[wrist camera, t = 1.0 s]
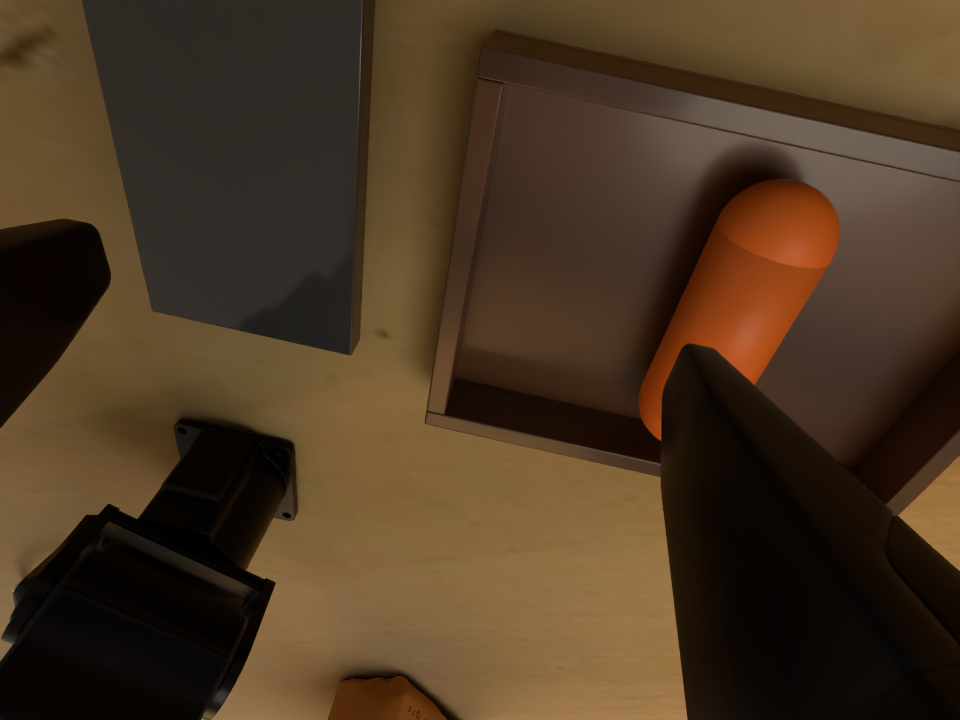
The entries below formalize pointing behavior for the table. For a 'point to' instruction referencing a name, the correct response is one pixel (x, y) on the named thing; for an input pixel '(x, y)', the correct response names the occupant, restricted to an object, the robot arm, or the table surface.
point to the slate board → (244, 157)
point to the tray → (691, 260)
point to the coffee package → (382, 701)
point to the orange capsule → (748, 282)
